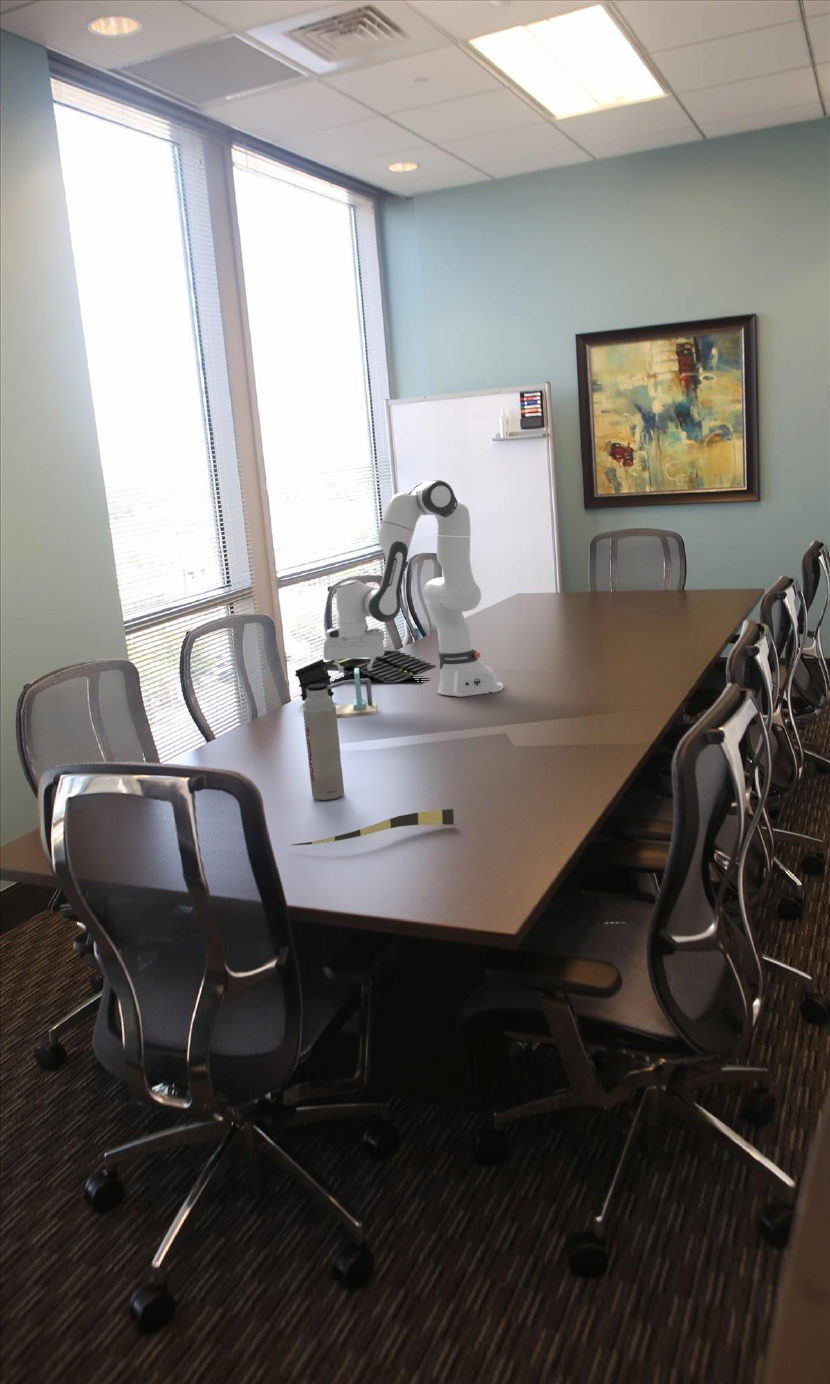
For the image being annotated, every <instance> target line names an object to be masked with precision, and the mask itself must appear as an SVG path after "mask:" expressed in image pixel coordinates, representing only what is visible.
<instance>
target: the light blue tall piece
mask: <svg viewBox="0 0 830 1384" xmlns="http://www.w3.org/2000/svg"><path fill="white" fill-rule="evenodd" d="M353 675H354V679H353V680H355V683H354V688H355V697H356V698H353V703H352V704H353V708H354V710H357V709H366V703H367V701H366V700H367V698H366V697H362V687H361V685H362V684H361V683H360V682H359V679H361V677H360V672H359V668H354V672H353Z"/></svg>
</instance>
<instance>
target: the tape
mask: <svg viewBox="0 0 830 1384" xmlns="http://www.w3.org/2000/svg"><path fill="white" fill-rule="evenodd" d="M425 825H426V826H427V825H448V826H449V825H450V826H451V825H452V826H453V825H455V817H454V808H448V809H438V810H437V809H435V810H428V811H421V812H420V811H419V812H412V813H407V814H402V815H398V816H395V817H392V818H388V819H385V820H382V821H380V822H377V823H375V824H373V825H370V826H367V827H364V828H360V829H357V830H355V831H351V832H347V833H344V834H338V835H335V836H331V837H328V838H323V839H318V840H314V841H308V842H300V843H293V844H288V845H287V844H286V845H284V846H288V847H289V846H305V845H317V844H323V843H333V842H336V841H342V840H343V841H344V840H349V839H354V838H359V837H363V836H367V835H371V834H375V833H378V832H382V831H386V830H389V829H390V830H391V829H394V828H399V827H408V826H409V827H410V826H425Z"/></svg>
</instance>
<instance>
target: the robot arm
mask: <svg viewBox="0 0 830 1384" xmlns="http://www.w3.org/2000/svg"><path fill="white" fill-rule="evenodd" d="M422 515H423V516H425V515H426V516H427V515H429V516H434V517H435V519H436V522H437V526H438V527H437V539H436V542H437V543H436V560H437V562H438V564H439V565H440V567H441V570H442V575H443V576H439V577H435V578H433V579H430V580H429V581H427V582H426V584H425V585H424V587H423V590H422V591H423V592H422V595H423V599H424V601H425V602H426V604H427V605H428V607H429V609H430V610H431V613H432V616H433V620H434V622H435V626H436V629H437V637H438V640H437V641H438V650H439V651H438V656H437V659H438V666H439V671H440V672H439V683H438V690H437V693H438V694H440V695H443V696H451V697H452V696H453V697H457V698H458V697H459V698H460V697H469V696H476V695H477V696H478V695H485V694H490V693H489V692H492V693H498V691H500V692H502V691H504V689H503V688H504V684H503V683H502V682H500V681H498V680H497V676H496V673H495V670H493V669H492V668H491V667H490V666H489V665H487V664H485V663H484V662H483V661H481V660H479V659H480V657H481V653H480V652H479V651H477V650H476V649H473V647H472V635H471V632H472V631H471V627H470V625H469V622H467V621H466V619H465V616H464V614H463V613H465V612H470V611H472V610H475V609H476V608H477V607H478V606H479V605H480V603H481V599H482V593H481V589H480V587H479V585H478V584H477V582H476V581H475V578H474V574H473V572H472V571H473V570H472V566H471V565H472V564H471V532H472V531H471V519H470V510H469V509H468V507H467V506H466V505H465V504H463V503H462V502H461V503H460V502H458V500H457V498H456V495H455V493H454V490H453V488H452V487H451V485H450V484H449V483H447V482H445V481H443V480H441V479H436V480H435V479H434V480H426V481H424V482H422V483H419V484H417V485H416V486H415V487H414V488H412V490H411V491H410V492H409V493H406V492H400V493H396V494H394V495H393V496H392V497H391V499H390V501H389V503H388V505H387V507H386V510H385V512H384V515H383V518H382V521H381V523H380V526H379V532H378V533H379V534H378V544H379V546H380V548H381V550H382V552H383V553H384V557H385V566H384V570H383V574H382V579H381V583H380V585H379V588H378V587H373V586H371V585H368V584H365V583H363V582H361V581H360V580H359V579H351V580H346V581H344V582H342V583H340V584H339V585H338V586H337V588H336V610H337V614H338V619H337V623H338V624H337V626H334V627H331V628H329V629H327V630H326V632H325V637H326V638H325V639H324V642H323V660H325V661H331V660H335V664H336V665H337V667H338V668H339V671H338V673H339V674H341V673H343V674H344V672H345V671H344V670H343V667H341V666H340V665H339V659H352V658H365V657H370V660H371V663H370V665H367V669H368V671H371V670H372V664H373V662H374V657H379V656H383V655H384V653H385V652H384V651H385V646H384V640H385V632H384V631H383V630H382V629H380V628H378V627H377V628H366V618H367V617H370V618H374V620H377V621H379V622H382V623H388V622H391V621H393V620H394V619H396V618H397V617H398V615H399V613H400V612H401V611H400V610H401V607H402V606H401V596H400V595H401V587H402V582H403V577H404V574H405V569H406V566H407V560H408V555H409V550H410V547H411V543H412V540H413V537H414V534H415V533H414V532H415V530H416V526H417V522H418V520H419V519H420V517H421V516H422ZM501 690H502V691H501ZM484 693H485V694H484Z"/></svg>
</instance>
